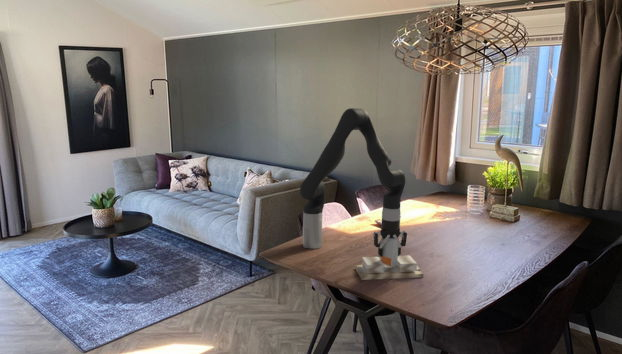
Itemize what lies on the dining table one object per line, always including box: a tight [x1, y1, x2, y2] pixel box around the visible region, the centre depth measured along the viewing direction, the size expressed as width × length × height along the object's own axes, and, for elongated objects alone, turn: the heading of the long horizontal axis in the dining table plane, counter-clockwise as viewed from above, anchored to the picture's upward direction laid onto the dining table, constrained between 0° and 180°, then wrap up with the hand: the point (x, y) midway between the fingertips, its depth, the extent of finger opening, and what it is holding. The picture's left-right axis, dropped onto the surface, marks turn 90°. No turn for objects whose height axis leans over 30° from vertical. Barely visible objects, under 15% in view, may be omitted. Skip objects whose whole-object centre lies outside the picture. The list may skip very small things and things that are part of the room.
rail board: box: [355, 255, 424, 281], centre depth 197 cm, size 26×12×6 cm, turn 97°
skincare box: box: [380, 236, 400, 267], centre depth 196 cm, size 6×4×12 cm
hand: (389, 255), depth 196 cm, fingers closed on skincare box, 6 cm apart
